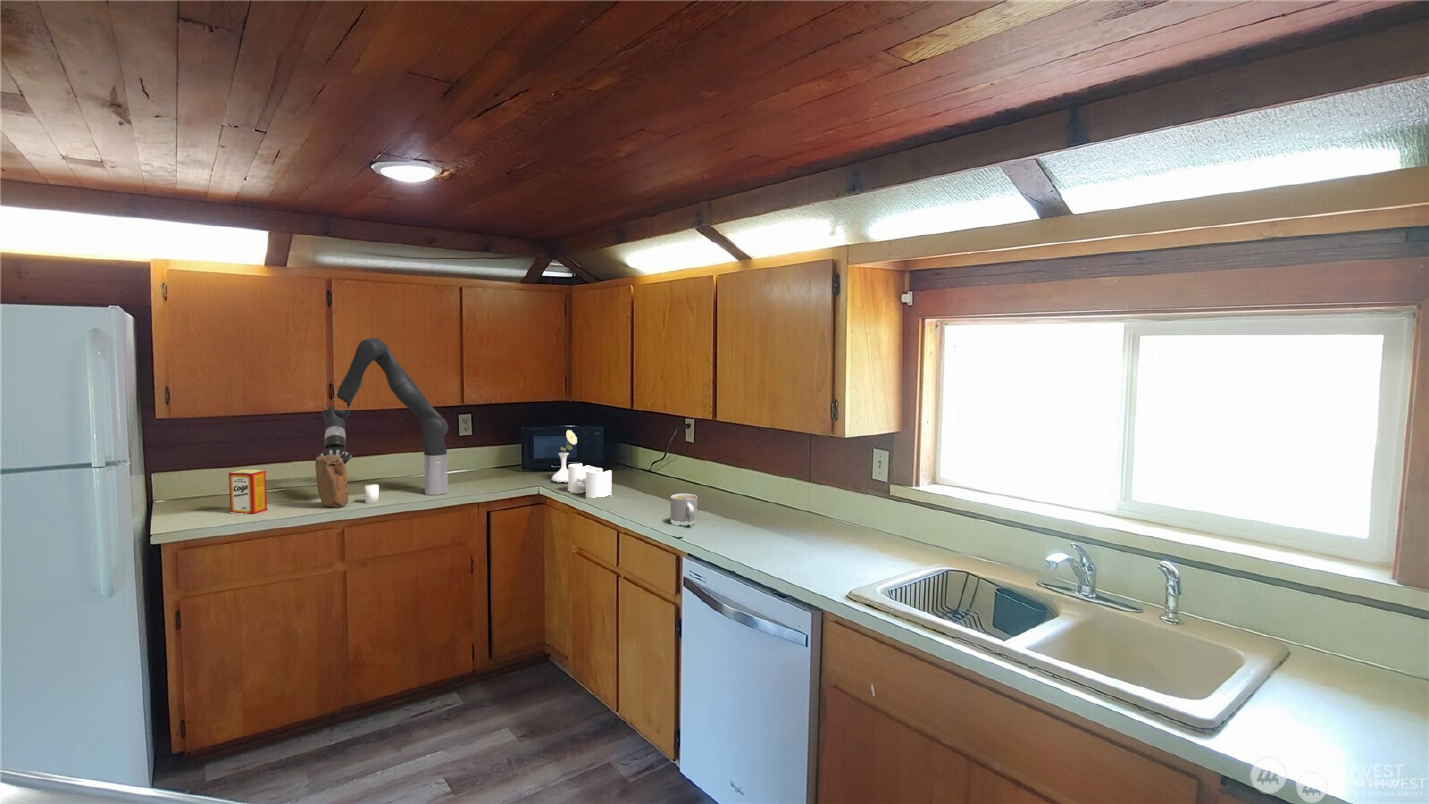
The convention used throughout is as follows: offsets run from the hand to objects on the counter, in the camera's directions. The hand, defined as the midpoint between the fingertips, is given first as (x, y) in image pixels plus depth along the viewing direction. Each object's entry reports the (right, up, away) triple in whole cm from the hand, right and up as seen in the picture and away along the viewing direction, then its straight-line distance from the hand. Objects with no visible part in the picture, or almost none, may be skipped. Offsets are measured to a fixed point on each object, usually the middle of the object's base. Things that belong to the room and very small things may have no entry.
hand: (334, 473), depth 269 cm
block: (+2, -12, -2) cm, 12 cm away
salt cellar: (+13, -12, +5) cm, 18 cm away
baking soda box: (-25, -13, -14) cm, 31 cm away
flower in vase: (+81, -10, +53) cm, 98 cm away
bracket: (+97, -12, +26) cm, 102 cm away
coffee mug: (+142, -17, -19) cm, 144 cm away
